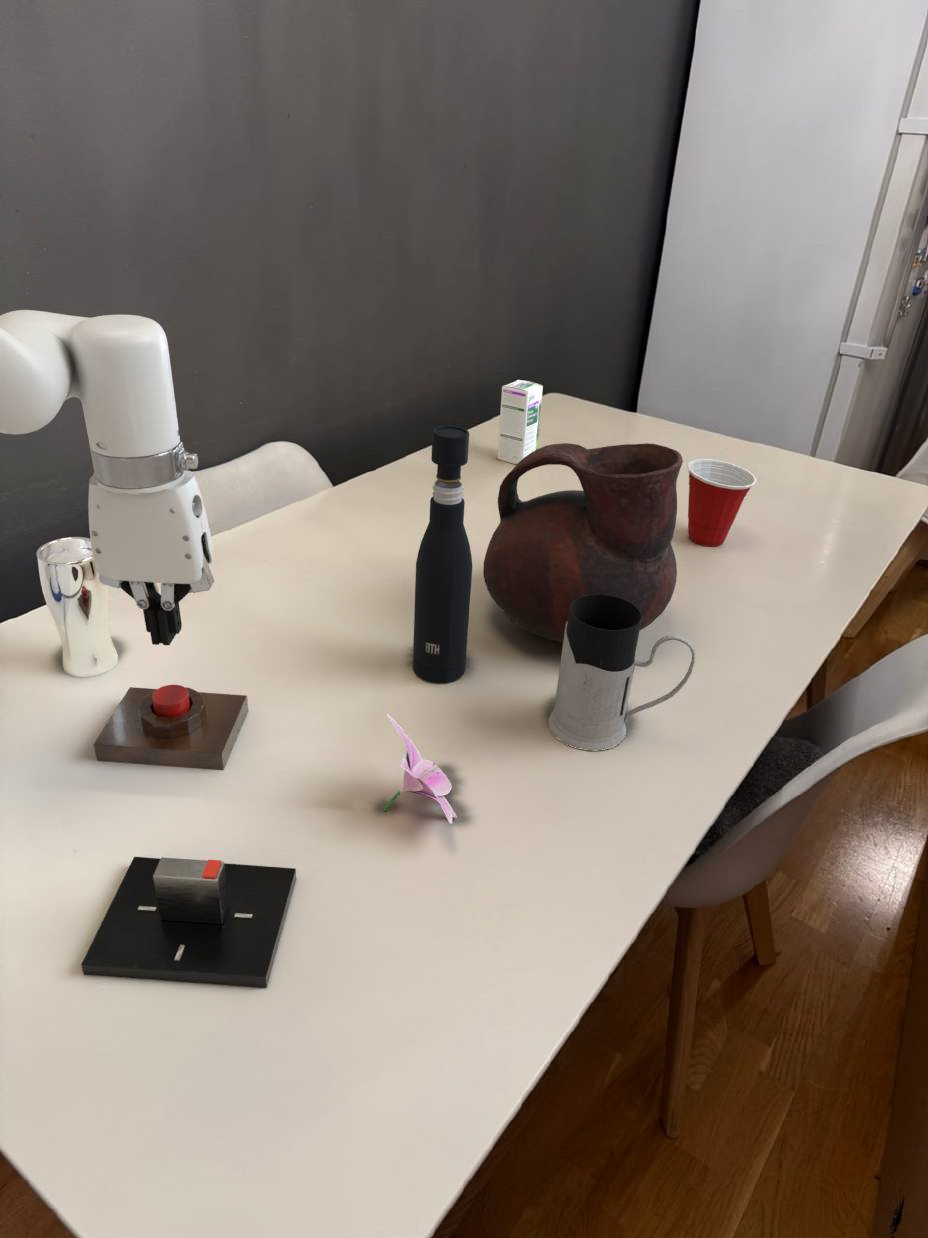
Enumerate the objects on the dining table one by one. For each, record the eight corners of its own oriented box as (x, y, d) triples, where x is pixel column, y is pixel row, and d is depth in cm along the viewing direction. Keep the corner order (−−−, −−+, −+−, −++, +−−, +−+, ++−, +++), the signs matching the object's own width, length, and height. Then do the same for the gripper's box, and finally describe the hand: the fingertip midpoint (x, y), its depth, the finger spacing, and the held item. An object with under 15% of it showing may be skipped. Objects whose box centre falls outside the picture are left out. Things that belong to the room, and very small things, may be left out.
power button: (149, 717, 91) (146, 703, 90) (160, 696, 94) (158, 683, 93) (183, 719, 91) (182, 706, 90) (194, 699, 94) (192, 685, 93)
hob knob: (160, 920, 70) (152, 874, 68) (168, 901, 72) (160, 854, 69) (222, 924, 70) (217, 878, 68) (229, 905, 72) (224, 859, 69)
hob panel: (86, 986, 68) (80, 963, 66) (137, 876, 77) (133, 855, 76) (267, 999, 68) (265, 977, 66) (297, 888, 77) (295, 866, 76)
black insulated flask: (455, 651, 111) (470, 419, 96) (472, 680, 106) (490, 439, 90) (406, 658, 109) (413, 422, 94) (420, 687, 104) (430, 443, 88)
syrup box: (522, 466, 167) (529, 390, 160) (495, 459, 170) (501, 384, 163) (536, 458, 172) (544, 384, 164) (510, 451, 174) (517, 378, 167)
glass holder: (556, 696, 104) (572, 584, 96) (678, 723, 101) (704, 610, 93) (540, 740, 97) (556, 623, 89) (671, 770, 93) (698, 652, 86)
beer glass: (129, 669, 104) (110, 555, 96) (67, 686, 100) (42, 569, 92) (112, 641, 109) (93, 531, 101) (52, 657, 105) (27, 543, 97)
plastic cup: (739, 559, 138) (756, 488, 132) (669, 546, 141) (683, 475, 135) (743, 532, 147) (759, 464, 141) (678, 520, 150) (691, 453, 144)
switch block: (96, 761, 90) (90, 730, 88) (132, 703, 98) (127, 673, 96) (223, 770, 90) (220, 739, 88) (248, 711, 98) (246, 681, 96)
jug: (539, 559, 134) (558, 398, 121) (694, 615, 122) (733, 442, 109) (441, 624, 116) (451, 443, 103) (612, 697, 104) (646, 502, 92)
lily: (438, 885, 80) (490, 801, 77) (324, 822, 79) (373, 735, 77) (451, 826, 91) (497, 751, 89) (352, 771, 91) (395, 694, 89)
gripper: (233, 452, 81) (250, 622, 91) (73, 443, 82) (106, 614, 91) (210, 484, 75) (230, 663, 84) (35, 474, 75) (75, 654, 85)
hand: (165, 637), depth 88 cm, fingers closed
